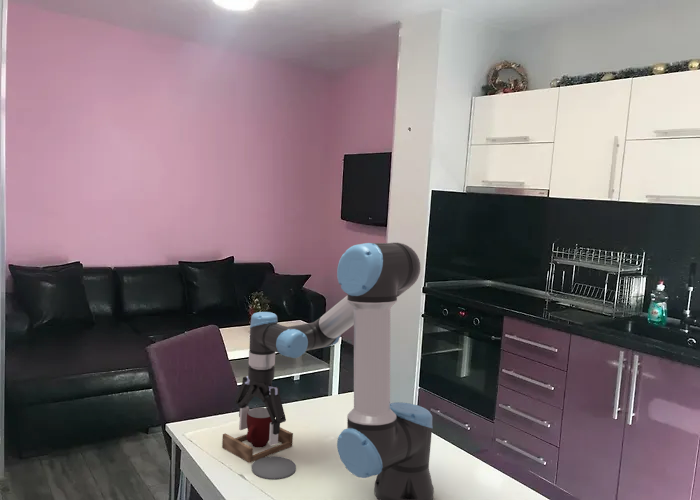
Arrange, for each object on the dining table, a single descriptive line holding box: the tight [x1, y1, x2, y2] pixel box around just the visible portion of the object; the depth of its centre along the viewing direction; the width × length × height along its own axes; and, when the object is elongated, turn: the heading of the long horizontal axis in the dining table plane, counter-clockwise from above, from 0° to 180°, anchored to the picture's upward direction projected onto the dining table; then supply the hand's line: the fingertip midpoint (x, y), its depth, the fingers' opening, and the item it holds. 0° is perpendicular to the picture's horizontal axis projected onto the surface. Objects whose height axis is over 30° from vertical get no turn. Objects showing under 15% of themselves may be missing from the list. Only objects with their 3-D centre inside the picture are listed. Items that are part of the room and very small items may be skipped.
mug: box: [246, 407, 272, 449], centre depth 168 cm, size 11×8×10 cm
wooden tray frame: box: [221, 426, 294, 464], centre depth 168 cm, size 13×16×4 cm
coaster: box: [251, 455, 297, 481], centre depth 156 cm, size 12×12×1 cm
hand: (258, 436), depth 168 cm, fingers open, 13 cm apart
